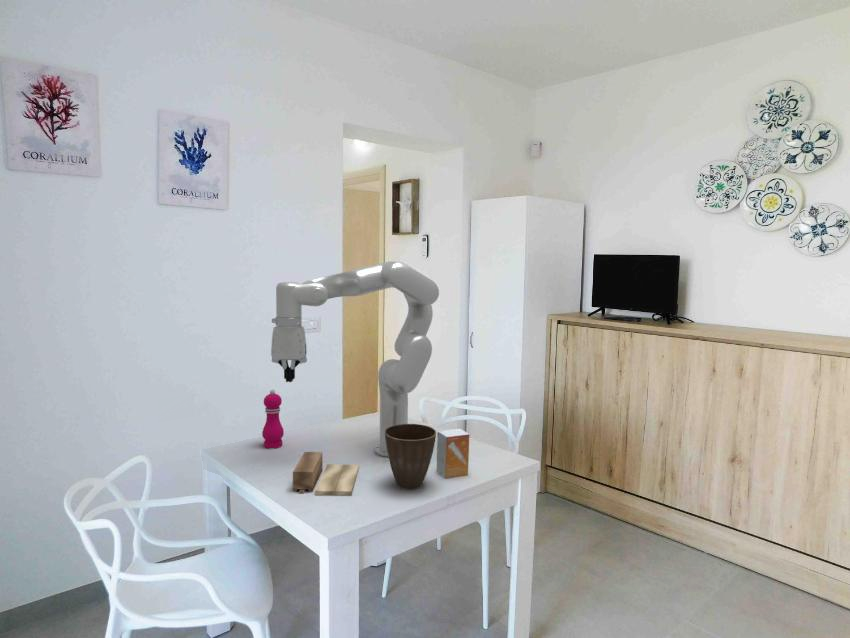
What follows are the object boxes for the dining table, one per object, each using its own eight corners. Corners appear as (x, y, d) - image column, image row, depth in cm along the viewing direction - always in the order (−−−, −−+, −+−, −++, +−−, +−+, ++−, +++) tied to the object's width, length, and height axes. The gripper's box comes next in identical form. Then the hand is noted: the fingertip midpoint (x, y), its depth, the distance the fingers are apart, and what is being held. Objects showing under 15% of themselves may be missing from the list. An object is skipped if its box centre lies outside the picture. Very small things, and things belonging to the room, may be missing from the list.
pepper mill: (257, 447, 190) (257, 390, 188) (271, 441, 196) (270, 386, 194) (275, 450, 187) (274, 392, 185) (288, 444, 194) (287, 388, 192)
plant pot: (445, 487, 159) (446, 433, 157) (402, 499, 150) (403, 443, 149) (416, 471, 171) (417, 421, 169) (374, 481, 162) (375, 428, 161)
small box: (445, 479, 165) (446, 436, 164) (436, 471, 171) (436, 430, 170) (468, 475, 169) (469, 433, 167) (459, 467, 174) (460, 427, 173)
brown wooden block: (322, 470, 170) (322, 452, 170) (312, 492, 154) (312, 472, 154) (304, 470, 170) (304, 451, 170) (292, 492, 154) (292, 471, 154)
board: (359, 468, 172) (359, 464, 172) (351, 495, 152) (351, 491, 152) (312, 467, 172) (312, 464, 172) (298, 494, 152) (298, 490, 152)
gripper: (261, 323, 165) (262, 383, 167) (311, 324, 166) (311, 384, 167) (267, 320, 173) (268, 378, 175) (315, 321, 173) (315, 379, 175)
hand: (289, 381), depth 171 cm, fingers closed
